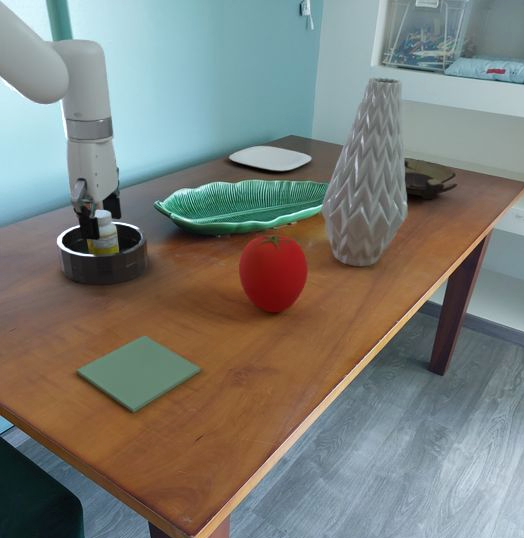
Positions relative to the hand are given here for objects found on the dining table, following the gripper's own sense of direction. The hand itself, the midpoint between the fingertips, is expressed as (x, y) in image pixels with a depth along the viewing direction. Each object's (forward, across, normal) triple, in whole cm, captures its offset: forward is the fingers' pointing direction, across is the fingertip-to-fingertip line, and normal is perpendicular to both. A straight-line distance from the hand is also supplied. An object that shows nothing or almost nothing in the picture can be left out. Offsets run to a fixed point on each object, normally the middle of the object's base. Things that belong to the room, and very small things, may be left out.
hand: (102, 227), depth 96 cm
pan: (+7, 0, 0) cm, 7 cm away
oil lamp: (+8, -63, +60) cm, 88 cm away
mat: (+7, +30, +17) cm, 35 cm away
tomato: (+8, +8, +32) cm, 34 cm away
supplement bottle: (+7, 0, 0) cm, 7 cm away
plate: (+8, -78, +19) cm, 80 cm away
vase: (+8, -17, +46) cm, 50 cm away
